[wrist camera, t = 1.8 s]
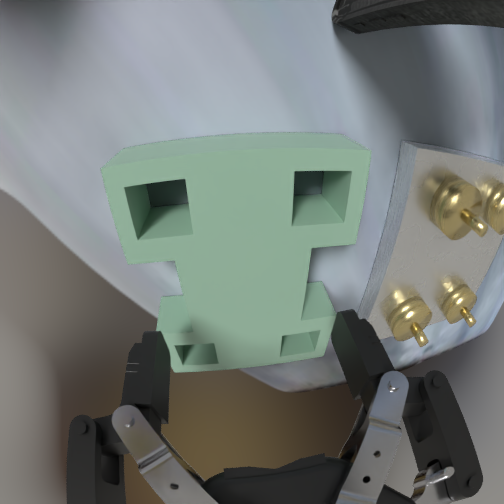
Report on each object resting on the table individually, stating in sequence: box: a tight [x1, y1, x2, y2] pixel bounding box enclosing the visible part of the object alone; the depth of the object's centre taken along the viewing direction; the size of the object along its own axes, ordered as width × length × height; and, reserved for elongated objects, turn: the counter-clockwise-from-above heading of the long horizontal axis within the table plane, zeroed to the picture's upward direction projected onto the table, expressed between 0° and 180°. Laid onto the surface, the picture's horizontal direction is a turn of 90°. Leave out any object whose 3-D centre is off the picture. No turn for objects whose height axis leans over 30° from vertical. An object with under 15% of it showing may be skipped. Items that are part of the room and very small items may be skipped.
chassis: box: [357, 140, 504, 347], centre depth 16 cm, size 14×16×5 cm
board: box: [101, 132, 372, 372], centre depth 14 cm, size 10×14×3 cm
